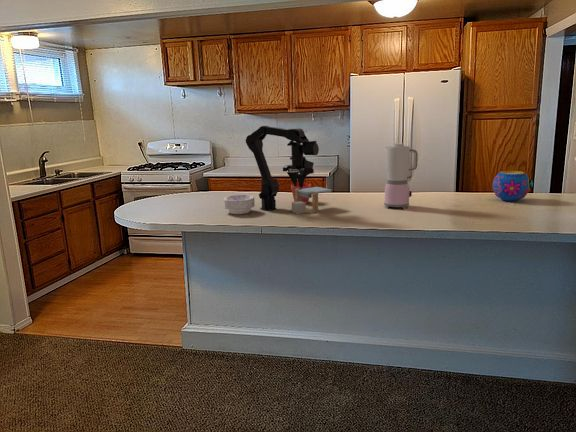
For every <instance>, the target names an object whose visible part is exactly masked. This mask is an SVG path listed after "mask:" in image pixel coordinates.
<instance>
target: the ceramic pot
mask: <svg viewBox="0 0 576 432" xmlns="http://www.w3.org/2000/svg"><path fill="white" fill-rule="evenodd" d="M533 186H534V181H533V180H532V179H531V178H530V177H529V176H528V174H526V172H524V171H520V170H503V171H502V170H501V171H499V172H498V173H497V174H496V176H495V177H494V178H493V182H492V190H493V193H494V195H495V196H496V197H497V198H498V199H500V200H502V201H506V202H517V201H519V200H522V199H524V198H525V197H526V196H527V195H528V193H529V192H530V190H531V189H532V188H534V187H533Z"/></svg>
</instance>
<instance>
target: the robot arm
mask: <svg viewBox="0 0 576 432" xmlns="http://www.w3.org/2000/svg"><path fill="white" fill-rule="evenodd" d="M267 135H270V136H274V137H275V136H276V137H282V138H285V139H287V140H289V142H288V143H287V144H286V145H287V146H288V147H291V148H290V150H291V151H290V152H291V156H290V157H289V160H291V164H285V165H283V166H282V172H286V174H287V176H289V178H290V180H291V182H292V185H293V184H294V186H297V184H299V186H300V188H302V187H303V184H305V180H306V177H307V176H308V175H310V174H311V175H312V174H314V173H315V169H314V164H315V163H314V162H313V161H309V160H307V158H306V157H305V156H317V155H318V154H319V150H320V148H319V145H318V143H317V140H311V141H310V140H309V139H308V137H307V135H306V133H305V131H304V129H303V128H288V129H287V128H282V127H274V126H269V125H261V126H260V127H259V128H258V129H256V130H255V131H253V132H252V133H251V134H249V135H247V136H246V138H245V144H246V145H247V147H248V149H249V150H250V151H251V153H253V156H254V158H255V159H254V160H255V162H256V165H257V167H258V170H259V173H260V177H261V179H262V182H261V187H262V190H261V191H260V192H259V193H258V197H259V199H261V207H260V210H263V211H273V209H274V210H277V207H276V206H277V204H276V203H277V202H276V201H277V200H276V198H275V197H277V194H278V192H279V190H280V184H279V182H278V181H279V180H278V179H277V178H274V177H273V176H272V174H271V171H270V168H269V165H268V162H267V160H266V158H265V157H266V156H265V154H264V151H263V148H264V144H263V140H265V139H266V137H267ZM304 155H305V156H304Z"/></svg>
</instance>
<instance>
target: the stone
mask: <svg viewBox="0 0 576 432" xmlns="http://www.w3.org/2000/svg"><path fill="white" fill-rule="evenodd" d="M306 204H307V203H305V202H301V201H298V202H294V201H293V202H291V213H294V214H296V215H297V214H298V215H299V214H305V213H306V212H307V211H306V208H307V207H306Z"/></svg>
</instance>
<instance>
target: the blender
mask: <svg viewBox="0 0 576 432" xmlns="http://www.w3.org/2000/svg"><path fill="white" fill-rule="evenodd" d="M385 149H386V159H385V163H386V164H385V167H386V176H387V182H386V183H385V185H384V203H383V204H384V207H385V209H390V207H391V208H402V209H403V210H405V209H407V208H408V206H410V198H411V197H412V195H413V194H412V193H413V192H412V191H411V190H410V186H409V185H410V184H409V183H408V176H409V171H414V170H416V169H418V168H417V167H418V160H419V159H418V157H419V154H418V153H419V152H418V151H417V150H416V149H411V148H410V146H409V145H405V144H404V143H400V142H396V143H395V142H394V143H393V144H392V145H389V146H388V145H387V146H385ZM411 154H413V166H410V164H411V163H410V159H411V157H410V156H411Z"/></svg>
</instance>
